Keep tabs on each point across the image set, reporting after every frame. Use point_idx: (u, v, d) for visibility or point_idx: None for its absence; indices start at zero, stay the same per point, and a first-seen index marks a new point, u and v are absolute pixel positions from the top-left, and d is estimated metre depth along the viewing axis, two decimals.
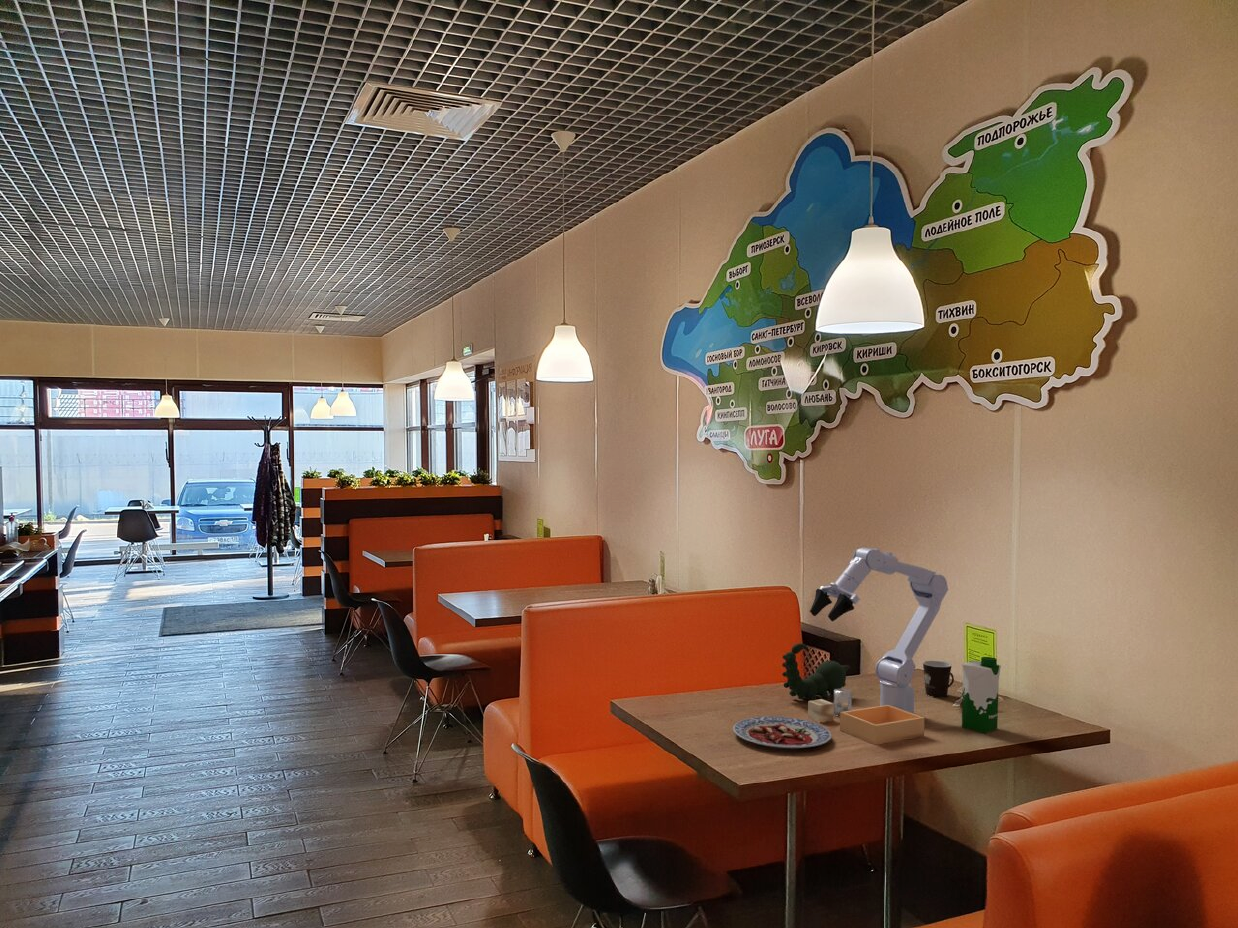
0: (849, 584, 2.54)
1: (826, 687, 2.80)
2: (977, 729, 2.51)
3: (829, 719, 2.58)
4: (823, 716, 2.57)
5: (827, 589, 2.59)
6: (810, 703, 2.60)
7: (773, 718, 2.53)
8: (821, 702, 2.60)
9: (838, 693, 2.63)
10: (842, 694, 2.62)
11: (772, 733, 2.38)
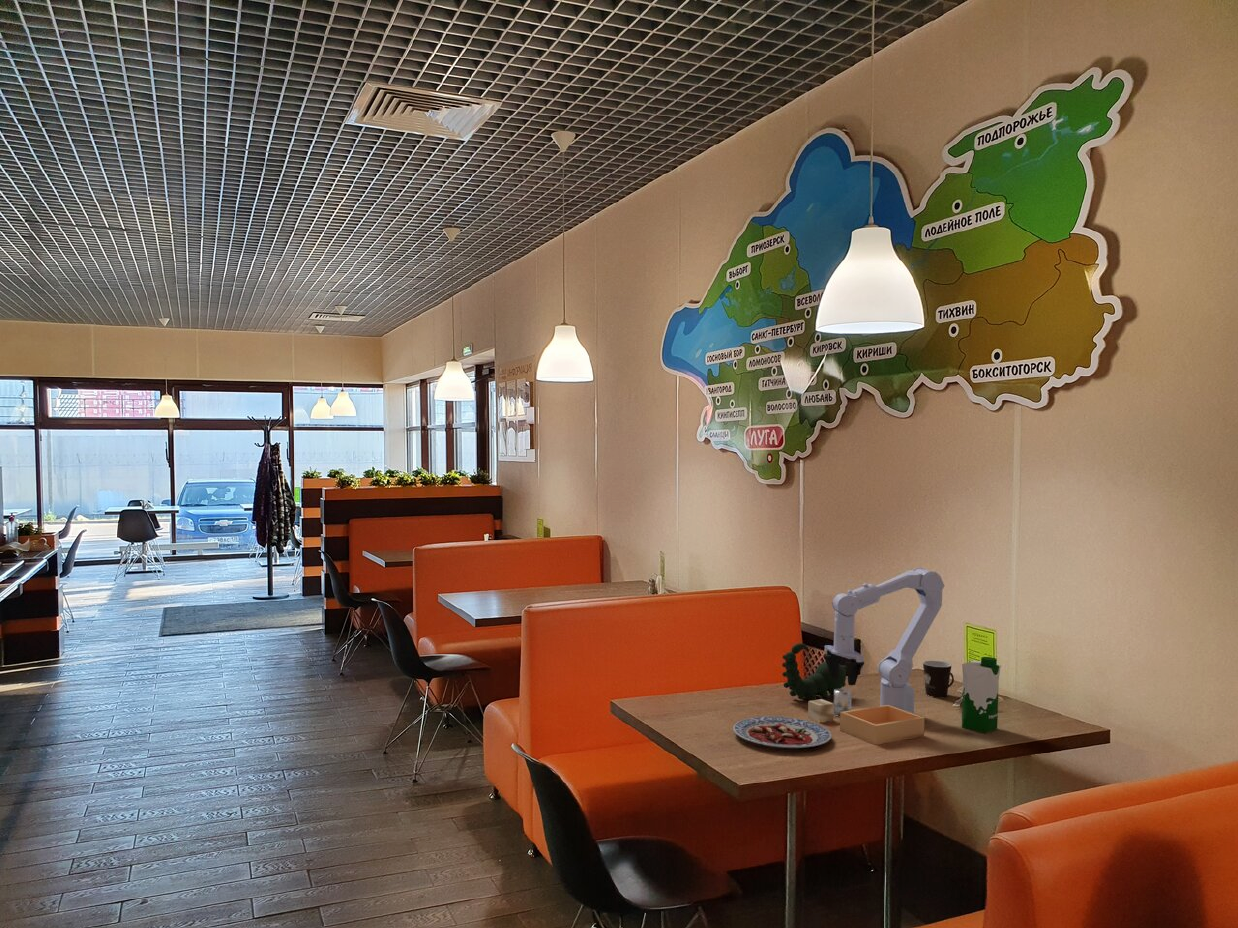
0: (846, 643, 2.62)
1: (826, 687, 2.80)
2: (977, 729, 2.51)
3: (829, 719, 2.58)
4: (823, 716, 2.57)
5: None
6: (810, 703, 2.60)
7: (773, 718, 2.53)
8: (821, 702, 2.59)
9: (838, 693, 2.63)
10: (842, 694, 2.62)
11: (772, 733, 2.38)
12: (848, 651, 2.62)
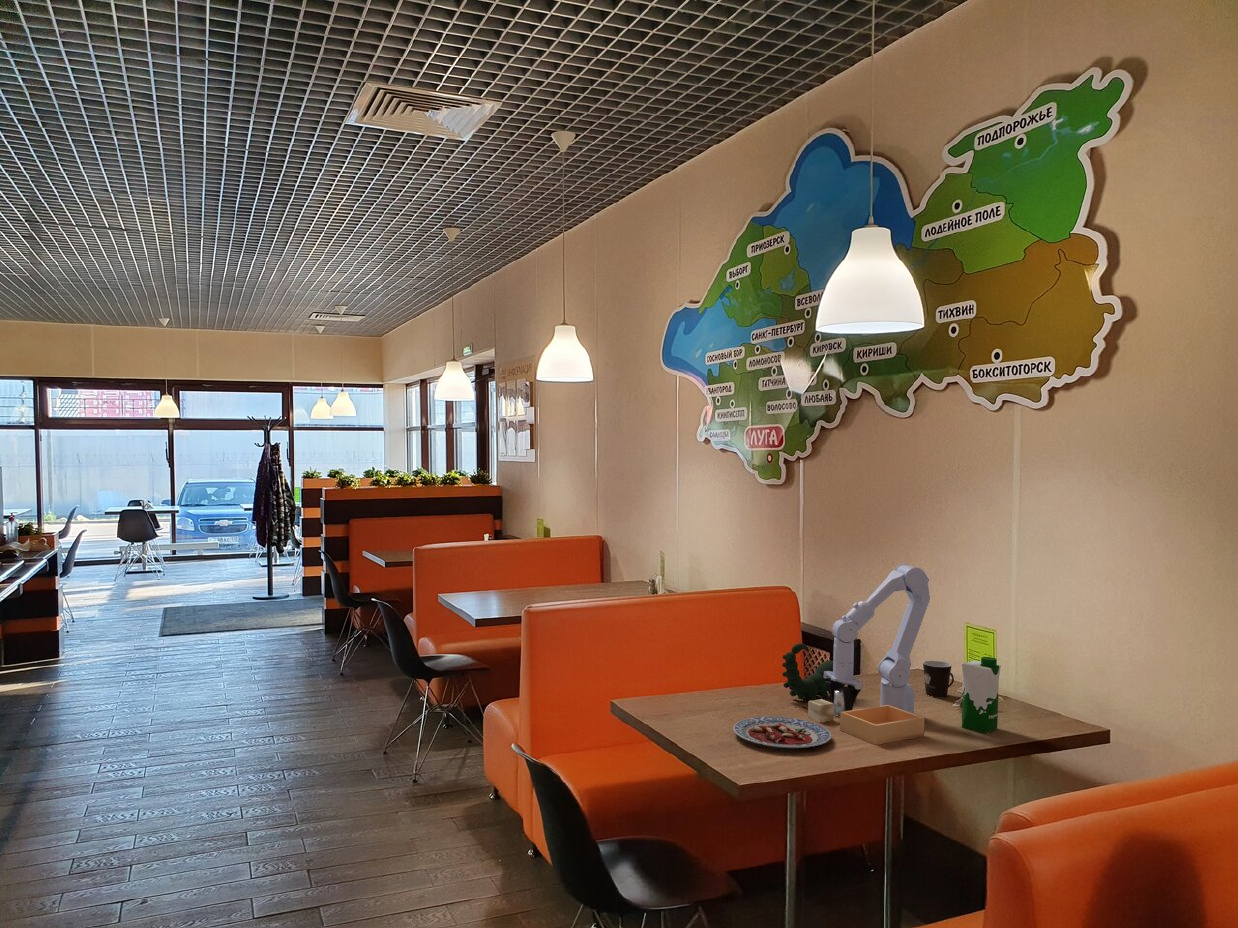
0: (846, 670, 2.62)
1: (826, 687, 2.80)
2: (977, 729, 2.51)
3: (829, 719, 2.58)
4: (823, 716, 2.57)
5: None
6: (810, 703, 2.60)
7: (773, 718, 2.53)
8: (821, 702, 2.60)
9: (838, 693, 2.63)
10: (842, 694, 2.62)
11: (772, 733, 2.38)
12: (847, 678, 2.62)
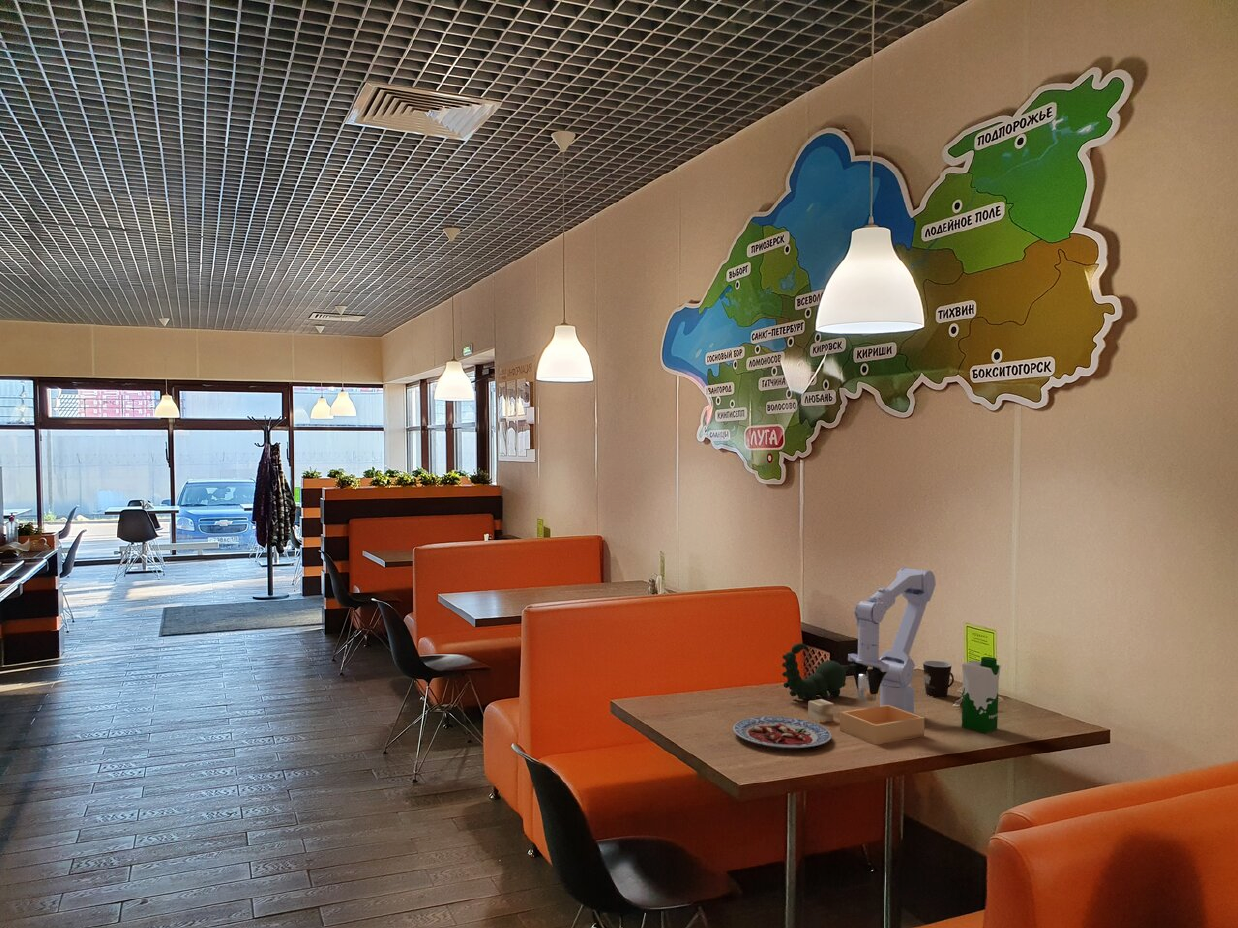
0: (871, 652, 2.54)
1: (826, 687, 2.80)
2: (977, 729, 2.51)
3: (829, 719, 2.58)
4: (823, 716, 2.57)
5: None
6: (810, 703, 2.60)
7: (773, 718, 2.53)
8: (821, 702, 2.59)
9: (862, 676, 2.55)
10: (866, 677, 2.55)
11: (772, 733, 2.38)
12: (873, 660, 2.54)
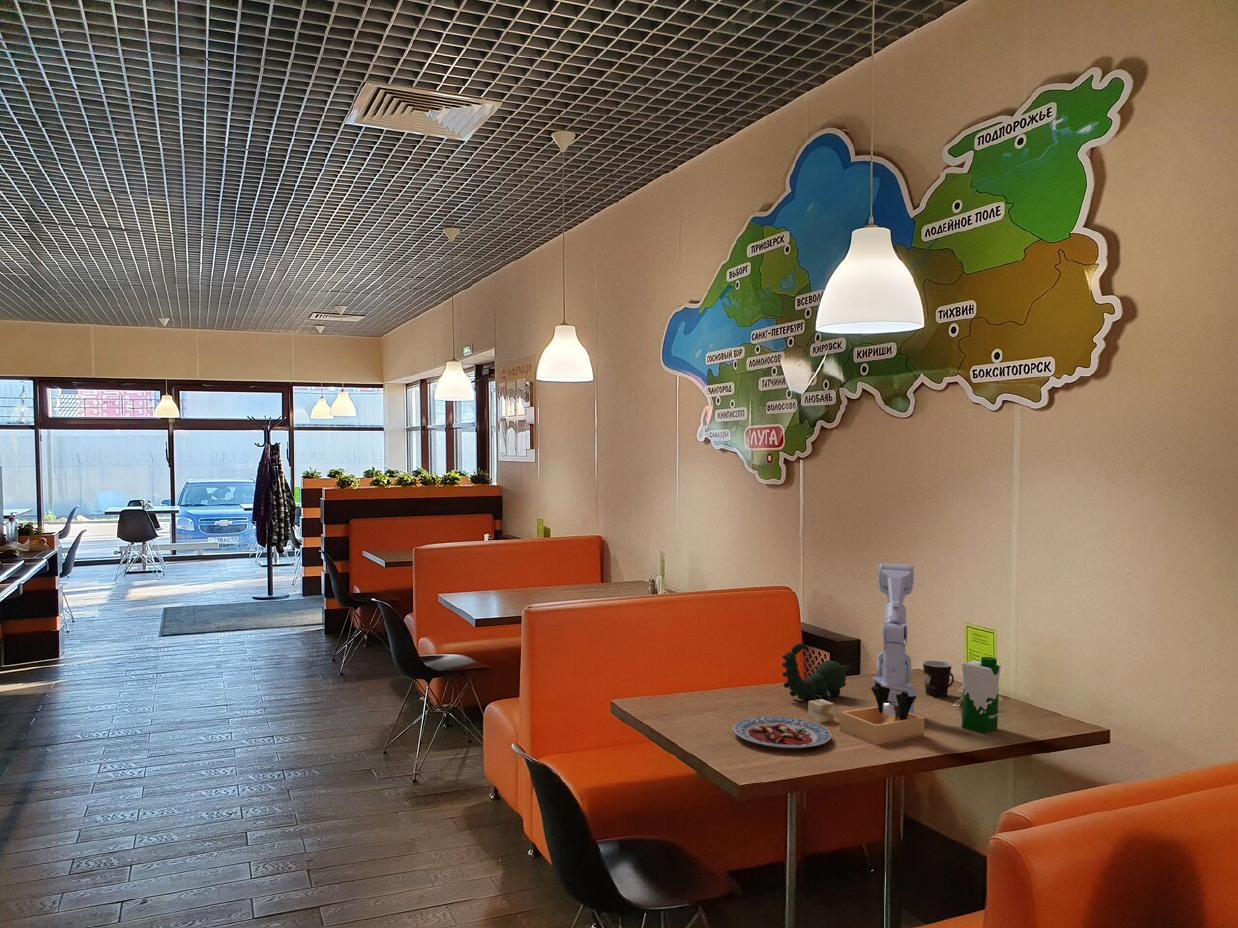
0: (897, 676, 2.47)
1: (826, 687, 2.80)
2: (977, 729, 2.51)
3: (829, 719, 2.58)
4: (823, 716, 2.57)
5: None
6: (810, 703, 2.60)
7: (773, 718, 2.53)
8: (821, 702, 2.60)
9: (887, 705, 2.48)
10: (892, 706, 2.47)
11: (772, 733, 2.38)
12: (899, 684, 2.47)
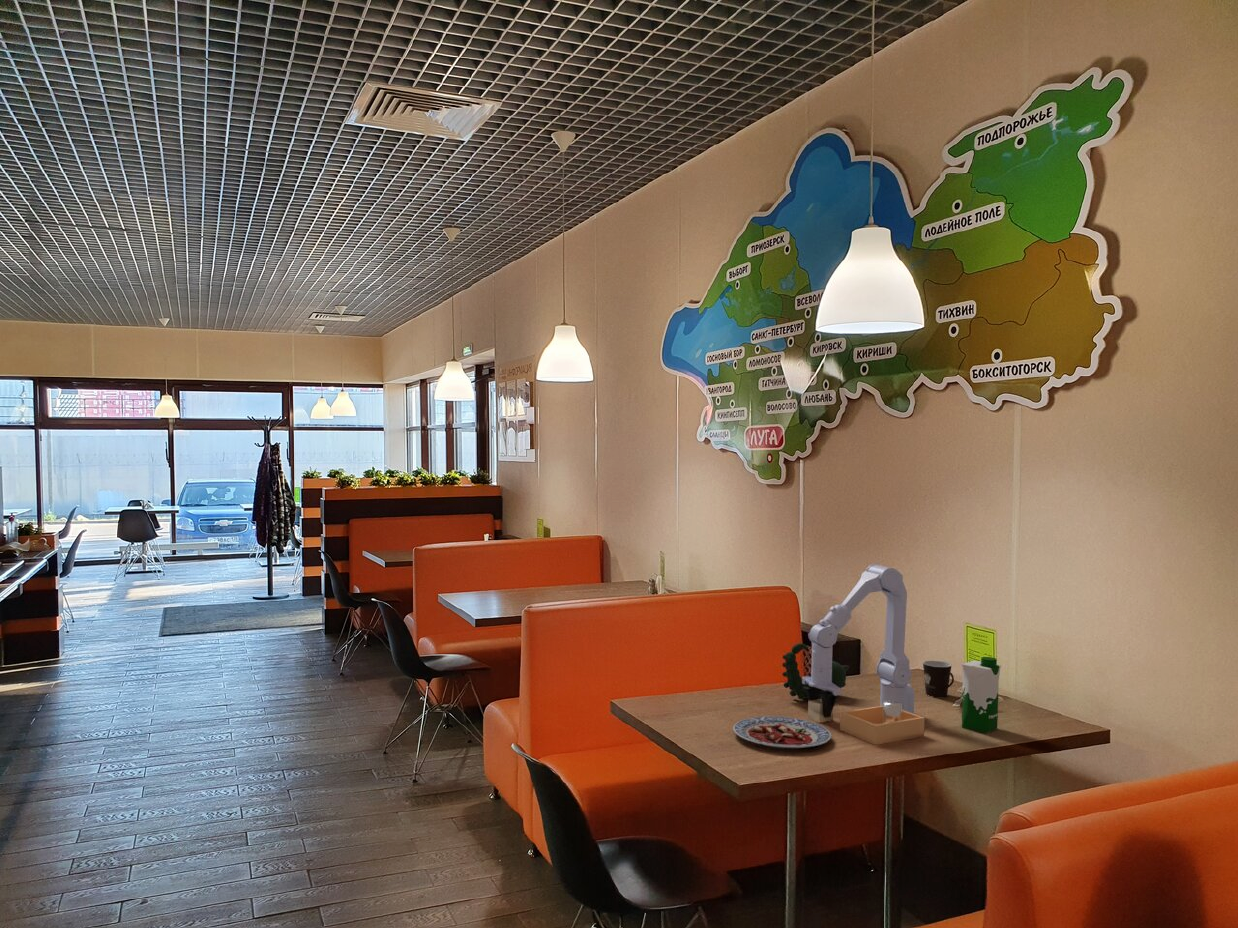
0: (824, 676, 2.57)
1: None
2: (977, 729, 2.51)
3: (829, 719, 2.58)
4: (823, 716, 2.57)
5: None
6: (810, 703, 2.60)
7: (773, 718, 2.53)
8: (821, 702, 2.59)
9: (887, 705, 2.48)
10: (892, 707, 2.47)
11: (772, 733, 2.38)
12: (825, 683, 2.57)
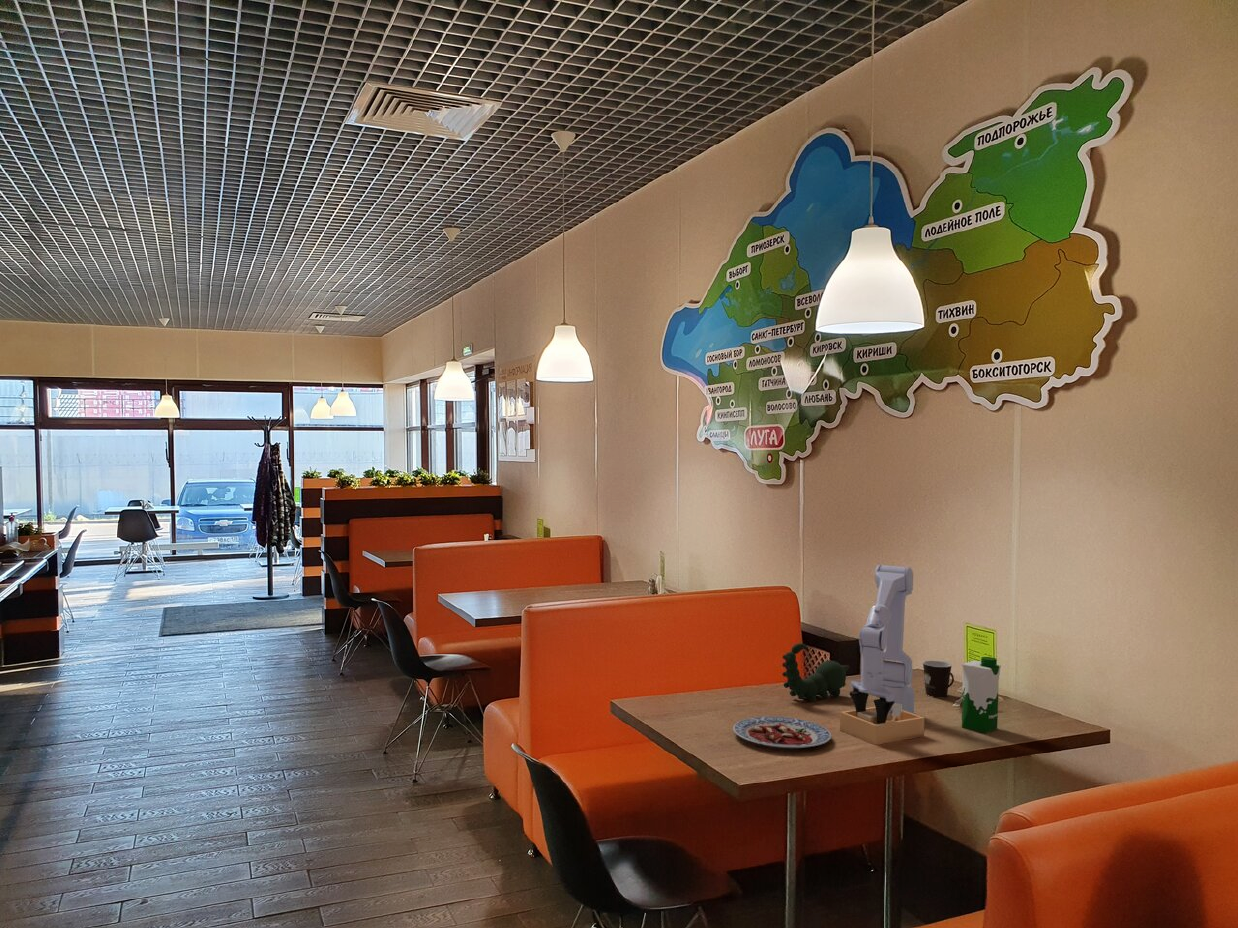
0: (875, 681, 2.43)
1: (826, 687, 2.80)
2: (977, 729, 2.51)
3: None
4: None
5: None
6: (860, 714, 2.46)
7: (774, 718, 2.53)
8: (871, 713, 2.46)
9: None
10: None
11: (772, 733, 2.38)
12: (877, 689, 2.43)
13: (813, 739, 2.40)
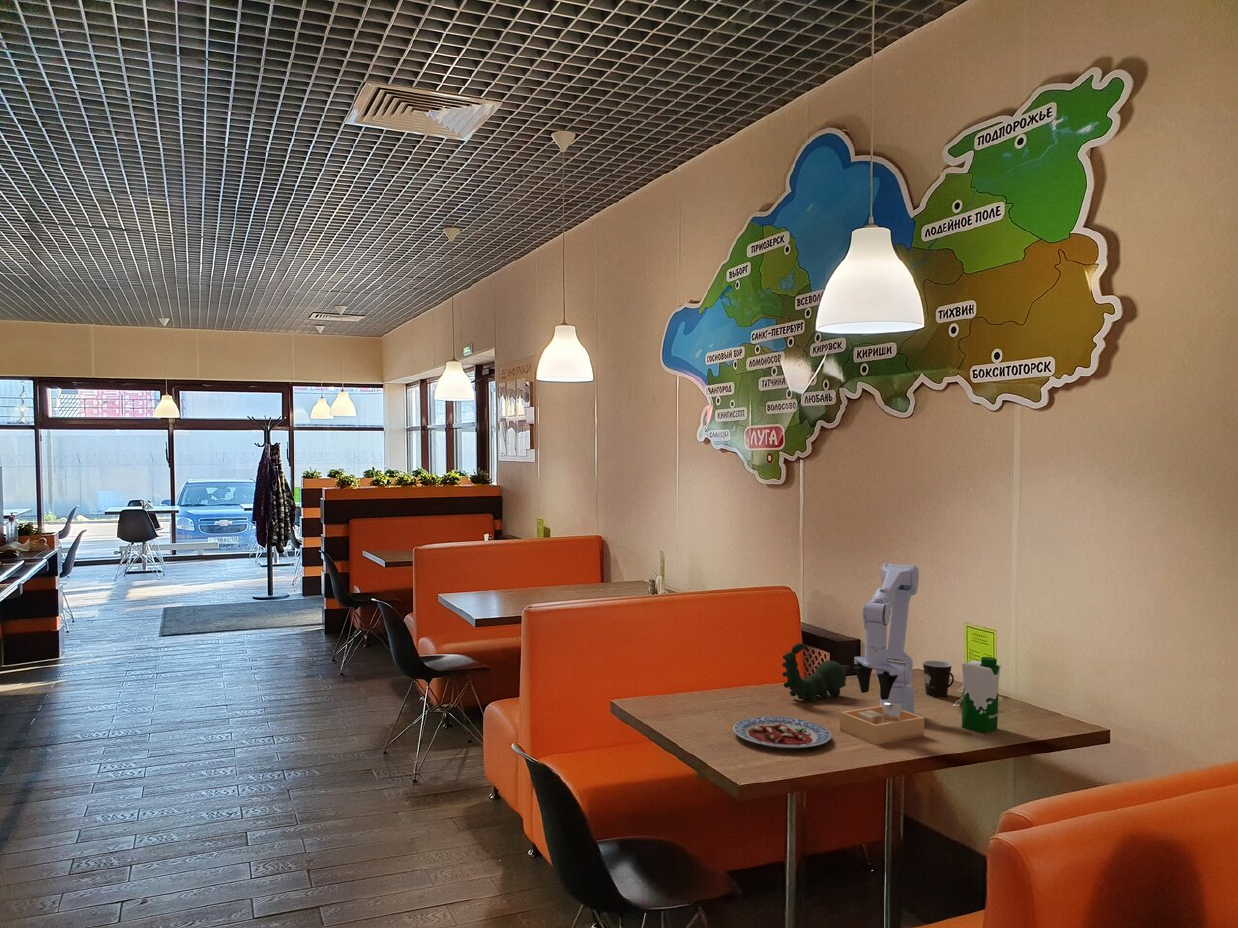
0: (879, 655, 2.46)
1: (826, 687, 2.80)
2: (977, 729, 2.51)
3: None
4: None
5: None
6: (860, 714, 2.46)
7: (774, 718, 2.53)
8: (871, 713, 2.46)
9: (886, 705, 2.48)
10: (890, 706, 2.47)
11: (772, 733, 2.38)
12: (880, 663, 2.46)
13: (813, 739, 2.40)
